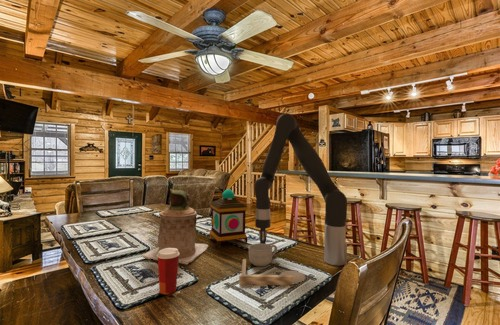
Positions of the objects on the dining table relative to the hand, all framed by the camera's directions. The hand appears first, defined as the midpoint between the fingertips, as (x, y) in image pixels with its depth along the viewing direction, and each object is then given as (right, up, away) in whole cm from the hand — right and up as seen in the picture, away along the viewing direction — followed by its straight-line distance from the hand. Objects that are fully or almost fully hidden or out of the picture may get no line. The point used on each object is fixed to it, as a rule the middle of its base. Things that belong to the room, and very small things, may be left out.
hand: (262, 252), depth 125 cm
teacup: (0, -1, -11) cm, 11 cm away
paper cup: (-35, -1, -36) cm, 50 cm away
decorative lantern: (-19, -1, +20) cm, 27 cm away
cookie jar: (-42, -1, 0) cm, 42 cm away
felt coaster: (+11, -1, -24) cm, 27 cm away
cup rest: (0, -1, -22) cm, 22 cm away
